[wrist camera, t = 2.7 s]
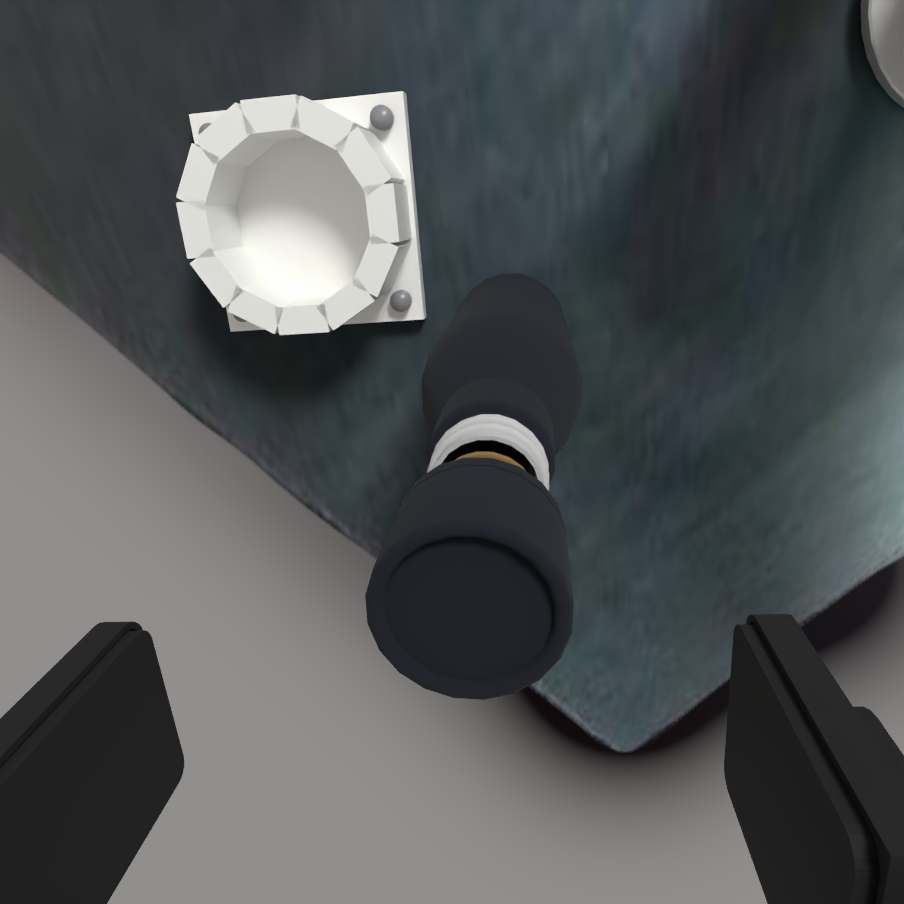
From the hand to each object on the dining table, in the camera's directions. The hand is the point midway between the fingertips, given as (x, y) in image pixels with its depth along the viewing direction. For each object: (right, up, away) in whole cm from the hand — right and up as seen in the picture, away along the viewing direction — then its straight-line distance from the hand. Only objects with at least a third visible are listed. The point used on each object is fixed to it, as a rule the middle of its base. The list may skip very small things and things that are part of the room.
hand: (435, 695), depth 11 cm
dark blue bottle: (+4, +11, +30) cm, 32 cm away
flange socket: (-8, +17, +29) cm, 34 cm away
